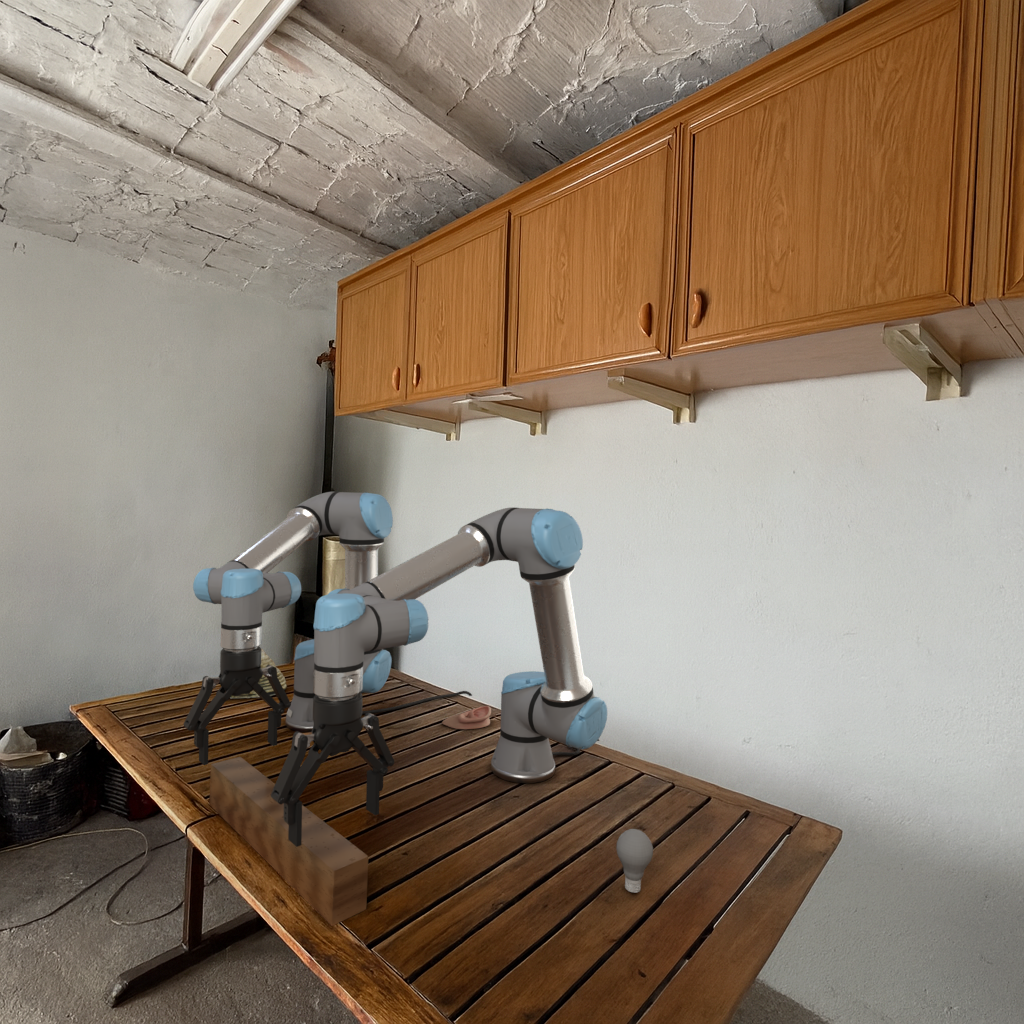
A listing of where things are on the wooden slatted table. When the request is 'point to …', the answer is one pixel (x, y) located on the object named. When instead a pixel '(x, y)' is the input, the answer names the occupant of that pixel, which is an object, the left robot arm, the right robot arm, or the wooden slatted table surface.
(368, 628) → the right robot arm
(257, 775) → the bar
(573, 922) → the wooden slatted table surface
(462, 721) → the anatomical model
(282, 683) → the fossil
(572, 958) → the wooden slatted table surface
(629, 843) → the light bulb
